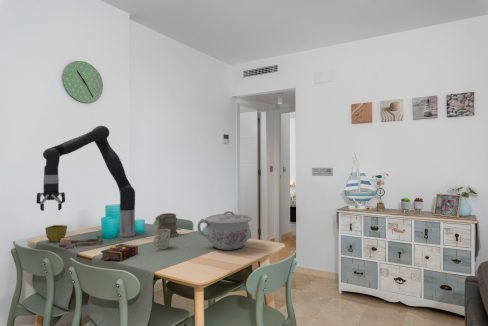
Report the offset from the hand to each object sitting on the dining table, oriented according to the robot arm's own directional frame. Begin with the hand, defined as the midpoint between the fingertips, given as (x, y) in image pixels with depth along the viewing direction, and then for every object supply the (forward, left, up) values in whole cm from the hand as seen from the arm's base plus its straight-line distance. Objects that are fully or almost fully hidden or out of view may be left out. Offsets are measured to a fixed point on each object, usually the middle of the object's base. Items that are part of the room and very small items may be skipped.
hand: (51, 210), depth 186 cm
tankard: (-65, -2, -21) cm, 68 cm away
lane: (-16, +1, -21) cm, 26 cm away
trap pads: (-13, +1, -21) cm, 25 cm away
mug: (-60, +28, -21) cm, 69 cm away
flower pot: (0, -13, -21) cm, 25 cm away
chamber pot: (-97, +37, -21) cm, 106 cm away
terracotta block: (-8, +1, -21) cm, 22 cm away
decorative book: (-38, +35, -21) cm, 56 cm away
